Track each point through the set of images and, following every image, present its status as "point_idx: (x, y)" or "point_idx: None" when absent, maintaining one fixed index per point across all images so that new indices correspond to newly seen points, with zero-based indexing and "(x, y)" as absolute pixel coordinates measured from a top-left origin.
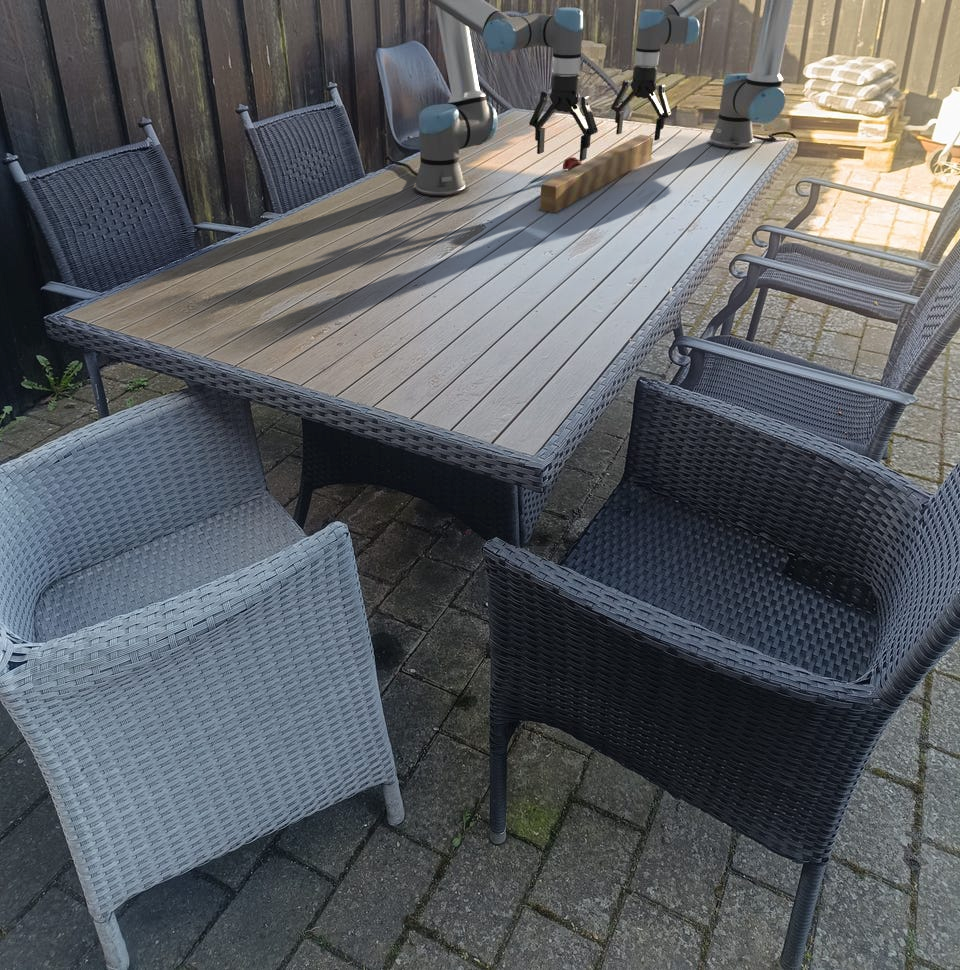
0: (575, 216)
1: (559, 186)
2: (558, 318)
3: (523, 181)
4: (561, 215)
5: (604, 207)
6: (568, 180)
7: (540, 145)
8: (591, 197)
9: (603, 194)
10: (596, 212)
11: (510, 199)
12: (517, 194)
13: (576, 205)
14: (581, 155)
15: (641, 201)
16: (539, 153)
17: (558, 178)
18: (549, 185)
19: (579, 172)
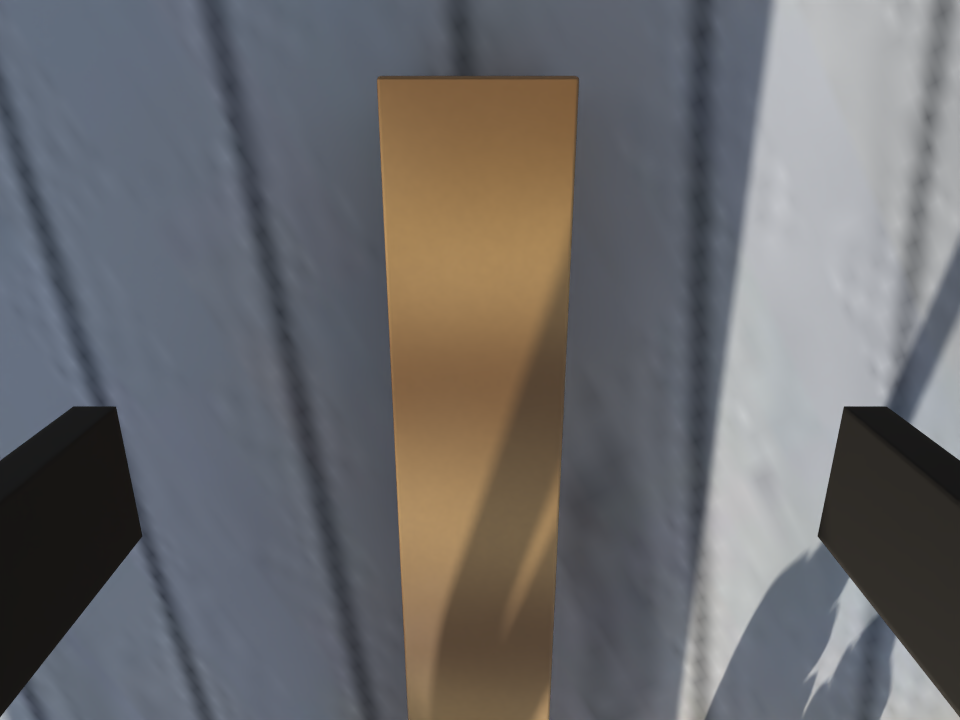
0: (220, 103)
1: (383, 168)
2: None
3: None
4: (327, 59)
5: (175, 417)
6: (392, 373)
7: (912, 498)
8: (371, 554)
9: (339, 639)
10: (151, 287)
11: (891, 207)
12: (882, 348)
13: (364, 353)
14: (37, 446)
15: (65, 637)
16: (846, 415)
17: (514, 379)
18: (471, 89)
19: (438, 633)
